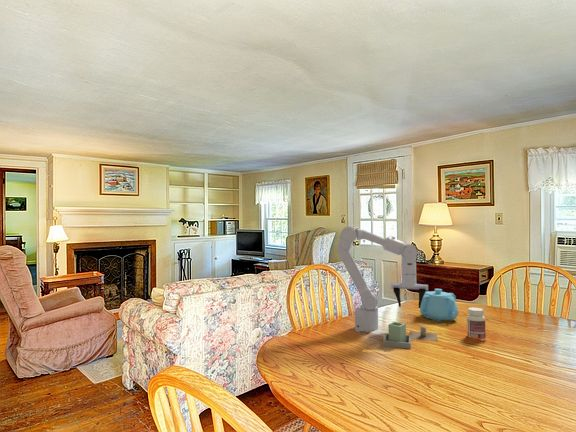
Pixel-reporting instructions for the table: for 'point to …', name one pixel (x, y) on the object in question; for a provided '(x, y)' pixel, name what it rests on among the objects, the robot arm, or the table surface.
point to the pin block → (423, 335)
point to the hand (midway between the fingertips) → (409, 306)
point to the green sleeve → (397, 332)
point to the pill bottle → (476, 324)
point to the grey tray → (397, 344)
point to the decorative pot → (439, 305)
